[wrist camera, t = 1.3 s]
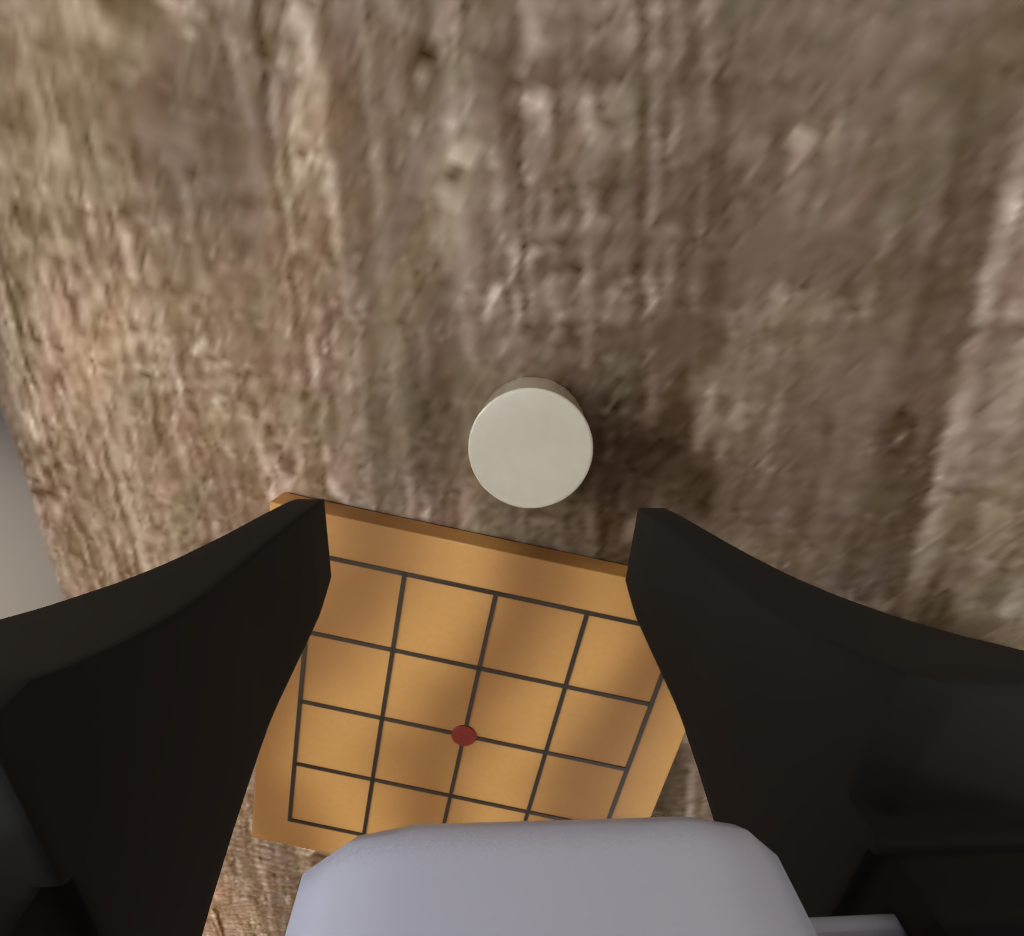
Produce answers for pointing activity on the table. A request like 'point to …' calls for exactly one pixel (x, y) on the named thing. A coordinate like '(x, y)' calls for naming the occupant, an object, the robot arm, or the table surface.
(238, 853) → the table surface
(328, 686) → the game board
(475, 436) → the white stone
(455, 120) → the table surface
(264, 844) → the table surface
